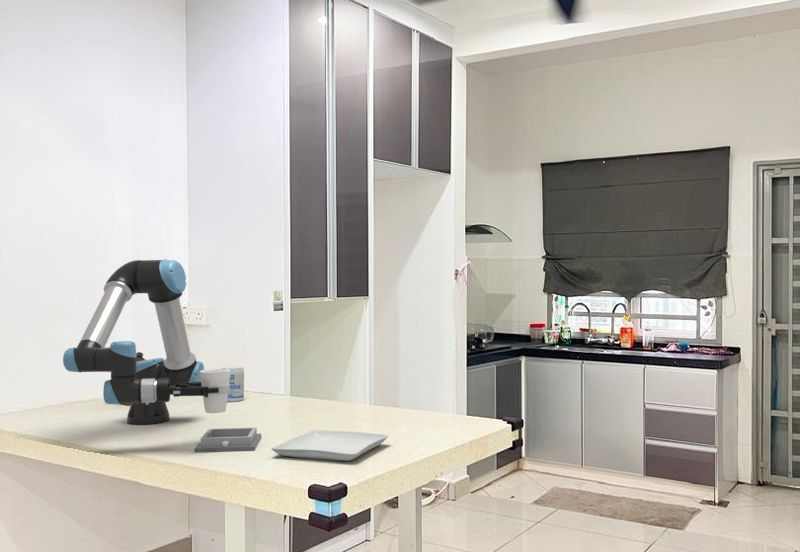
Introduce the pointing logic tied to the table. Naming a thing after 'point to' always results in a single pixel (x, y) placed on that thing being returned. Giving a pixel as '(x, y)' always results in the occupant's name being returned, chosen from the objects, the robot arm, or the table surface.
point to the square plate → (330, 445)
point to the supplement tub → (236, 383)
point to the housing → (229, 440)
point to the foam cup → (213, 379)
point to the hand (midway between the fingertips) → (229, 387)
